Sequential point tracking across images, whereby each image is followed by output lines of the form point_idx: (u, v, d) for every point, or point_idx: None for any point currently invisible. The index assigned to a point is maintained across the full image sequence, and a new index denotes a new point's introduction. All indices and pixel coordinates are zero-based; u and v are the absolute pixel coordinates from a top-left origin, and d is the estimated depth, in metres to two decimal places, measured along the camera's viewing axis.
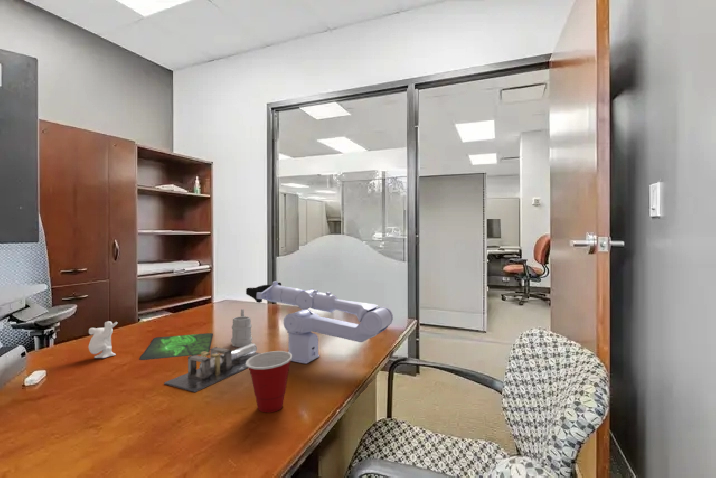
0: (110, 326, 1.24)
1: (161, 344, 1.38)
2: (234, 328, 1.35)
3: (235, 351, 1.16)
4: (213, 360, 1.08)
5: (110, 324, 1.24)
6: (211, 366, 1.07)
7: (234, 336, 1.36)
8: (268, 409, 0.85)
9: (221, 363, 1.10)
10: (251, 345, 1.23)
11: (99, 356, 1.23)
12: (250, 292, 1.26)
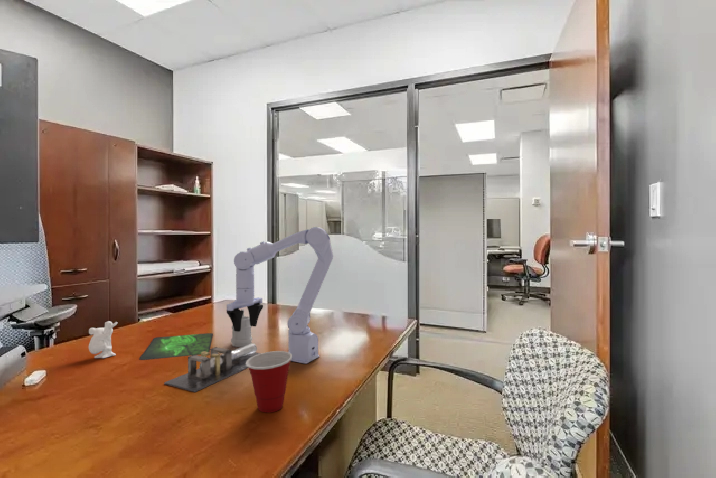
0: (110, 326, 1.24)
1: (161, 344, 1.38)
2: None
3: (235, 351, 1.16)
4: (213, 360, 1.08)
5: (110, 324, 1.24)
6: (211, 366, 1.07)
7: (234, 336, 1.36)
8: (268, 409, 0.85)
9: (221, 363, 1.10)
10: (251, 345, 1.23)
11: (99, 356, 1.23)
12: (236, 325, 1.19)
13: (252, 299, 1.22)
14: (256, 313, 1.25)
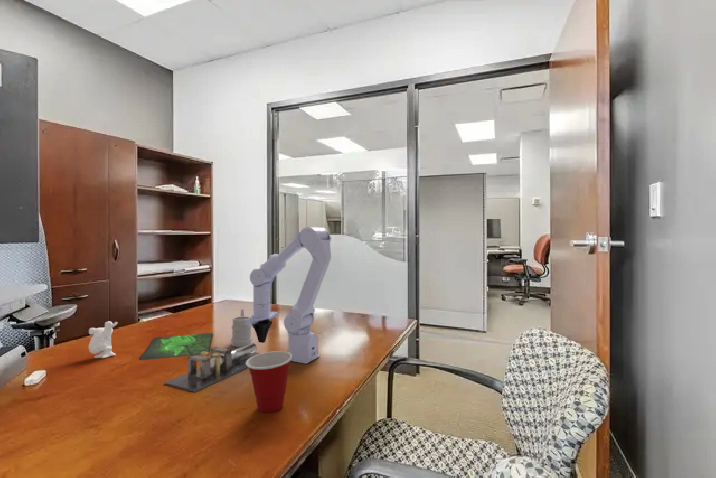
0: (110, 326, 1.24)
1: (161, 344, 1.38)
2: (234, 328, 1.35)
3: (235, 351, 1.16)
4: (213, 360, 1.08)
5: (110, 324, 1.24)
6: (211, 366, 1.07)
7: (234, 336, 1.36)
8: (268, 409, 0.85)
9: (221, 363, 1.10)
10: (251, 345, 1.23)
11: (99, 356, 1.23)
12: (260, 337, 1.28)
13: (268, 314, 1.27)
14: (265, 329, 1.28)
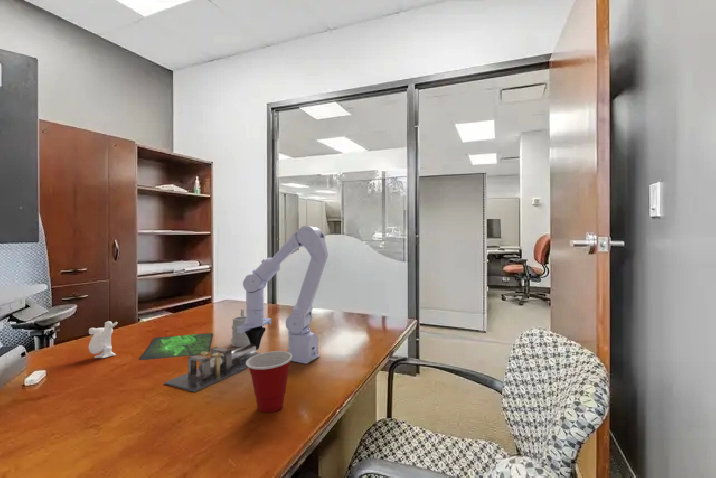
0: (110, 326, 1.24)
1: (161, 344, 1.38)
2: (234, 328, 1.35)
3: (234, 351, 1.16)
4: (212, 360, 1.08)
5: (110, 324, 1.24)
6: (210, 366, 1.06)
7: (234, 336, 1.36)
8: (268, 409, 0.85)
9: (220, 363, 1.10)
10: (250, 345, 1.22)
11: (99, 356, 1.23)
12: (254, 344, 1.25)
13: (262, 321, 1.24)
14: (259, 336, 1.25)
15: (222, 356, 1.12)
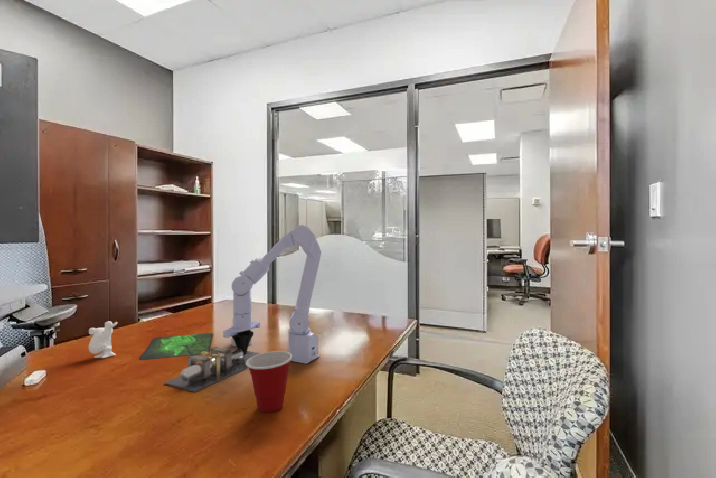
0: (110, 326, 1.24)
1: (161, 344, 1.38)
2: None
3: None
4: (195, 367, 1.03)
5: (110, 324, 1.24)
6: (193, 373, 1.01)
7: None
8: (268, 409, 0.85)
9: None
10: (237, 350, 1.17)
11: (99, 356, 1.23)
12: None
13: (249, 325, 1.19)
14: (246, 341, 1.19)
15: None
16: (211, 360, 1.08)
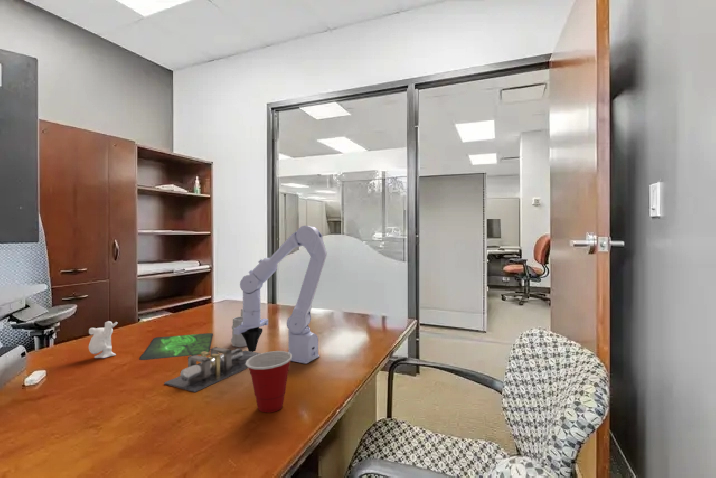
0: (110, 326, 1.24)
1: (161, 344, 1.38)
2: None
3: None
4: (195, 367, 1.03)
5: (110, 324, 1.24)
6: (193, 373, 1.01)
7: (234, 336, 1.36)
8: (268, 409, 0.85)
9: None
10: (237, 350, 1.17)
11: (99, 356, 1.23)
12: (250, 345, 1.23)
13: (258, 322, 1.23)
14: (256, 337, 1.23)
15: None
16: (211, 360, 1.08)
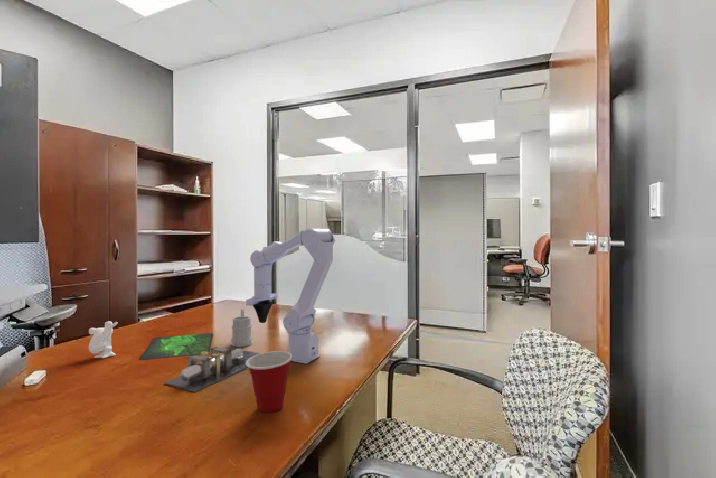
0: (110, 326, 1.24)
1: (161, 344, 1.38)
2: (234, 328, 1.35)
3: None
4: (195, 367, 1.03)
5: (110, 324, 1.24)
6: (193, 373, 1.01)
7: (234, 336, 1.36)
8: (268, 409, 0.85)
9: None
10: (237, 350, 1.17)
11: (99, 356, 1.23)
12: (261, 317, 1.30)
13: (269, 295, 1.30)
14: (266, 310, 1.30)
15: None
16: (211, 360, 1.08)
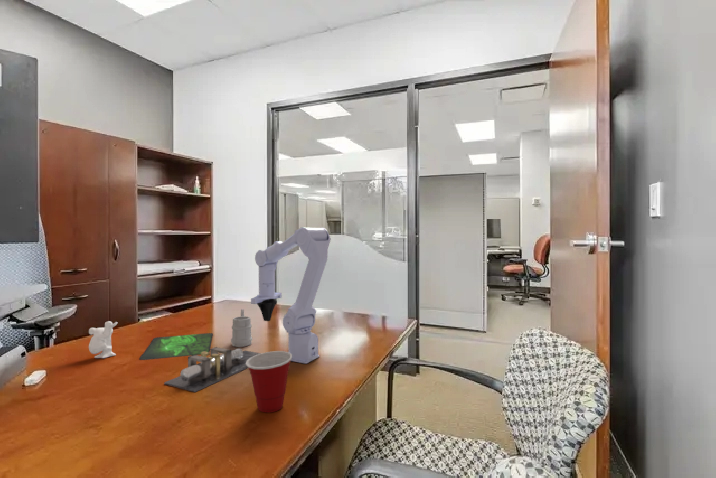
0: (110, 326, 1.24)
1: (161, 344, 1.38)
2: (234, 328, 1.35)
3: None
4: (195, 367, 1.03)
5: (110, 324, 1.24)
6: (193, 373, 1.01)
7: (234, 336, 1.36)
8: (268, 409, 0.85)
9: None
10: (237, 350, 1.17)
11: (99, 356, 1.23)
12: (266, 315, 1.33)
13: (273, 293, 1.33)
14: (270, 308, 1.33)
15: None
16: (211, 360, 1.08)
